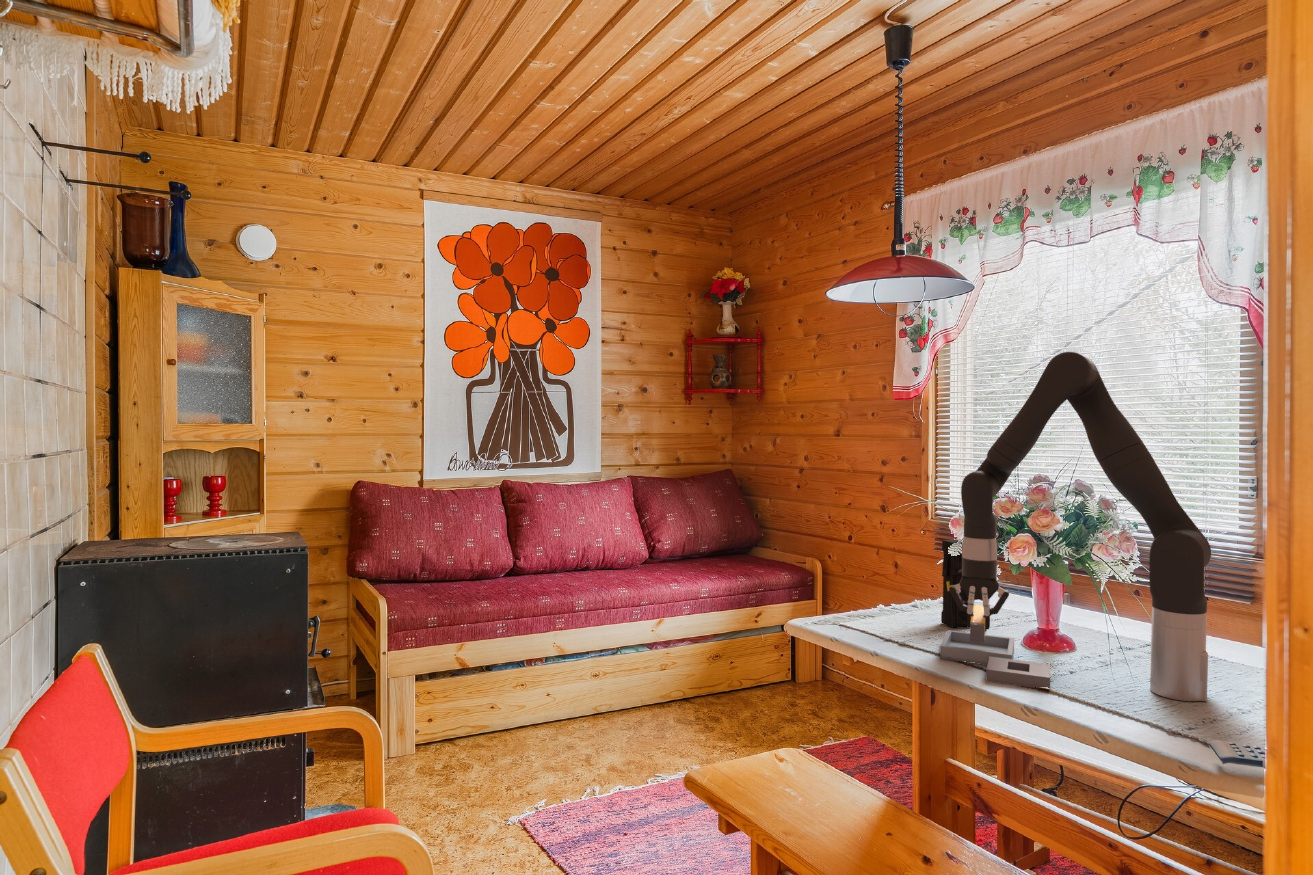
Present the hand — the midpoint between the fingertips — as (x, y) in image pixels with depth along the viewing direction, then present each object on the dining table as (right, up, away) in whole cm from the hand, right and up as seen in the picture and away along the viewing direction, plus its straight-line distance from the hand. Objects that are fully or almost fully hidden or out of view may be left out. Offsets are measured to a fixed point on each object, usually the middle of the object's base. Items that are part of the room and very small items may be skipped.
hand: (978, 629), depth 186 cm
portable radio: (+5, -5, +26) cm, 27 cm away
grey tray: (0, -6, 0) cm, 6 cm away
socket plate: (+2, -6, -16) cm, 18 cm away
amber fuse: (+2, +3, +4) cm, 5 cm away
